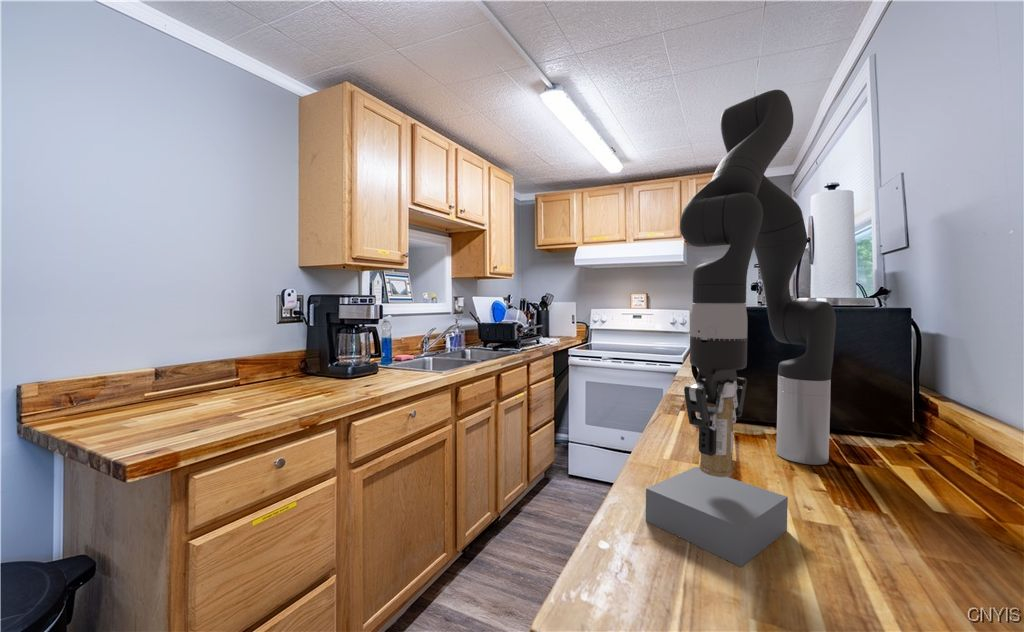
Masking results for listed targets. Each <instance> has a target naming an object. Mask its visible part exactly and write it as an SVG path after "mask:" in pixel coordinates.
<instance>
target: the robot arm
mask: <svg viewBox="0 0 1024 632" xmlns="http://www.w3.org/2000/svg"><path fill="white" fill-rule="evenodd" d="M719 120H720V121H719V122H720V123H719V124H720V125H719V126H720V132H721V137H722V141H723V144H724V147H725V151H726V154H725V156H724V157H723V158H722V159H721V160H720V162H718V164H717V167H716V169H715V171H714V173H713V175H712V177H711V179H710V181H709V182H707V183H706V184H705V185H704V186H703V187H702V188H701V189H699V190H698V191H697V193H695V194H694V195H693V196H692V197H691V198H690V199H689V200H688V202H687V204H686V205H685V206H684V209H683V212H682V213H681V217H680V221H679V225H680V226H679V228H680V229H679V230H680V234H681V236H682V238H683V239H684V241H685V242H686V243H687V244H688V245H691V247H695V248H696V247H697V248H705V247H716V246H719V247H720V246H729V247H728V249H727V250H726V253H725V254H724V255H723V256H722V257H720V258H717V259H715V260H711V261H707V262H704V263H700V264H698V265H697V266H695V267H694V270H693V274H692V306H691V307H692V308H691V313H690V321H689V323H690V324H689V326H690V328H689V330H690V331H689V363H690V365H691V366H693V367H696V368H697V376H696V379H695V384H693V385H685V386H684V387H683V388H684V389H683V392H684V393H683V394H684V399H685V405H686V410H687V411H686V412H687V417H688V423H689V425H691V426H692V425H693V426H695V427H697V428H698V451H699V453H703V454H706V455H709V456H712V455H715V454H716V430H715V429H716V425H717V419H718V415H720V414H721V413H722V411H723V405H724V397H723V395H724V394H726V387H727V385H728V383H726V382H729V383H733V384H734V386H735V395H734V396H733V397H734V398H733V424H736V421H737V417H738V418H742V417H741V416H742V414H743V410H744V404H745V397H746V391H747V384H748V380H747V377H739V376H738V375H737V371H739V370H740V371H741V370H743V369H746V368H747V364H748V328H749V327H748V325H749V324H748V323H749V322H748V313H747V311H748V310H747V281H748V280H747V278H748V271H749V266H750V261H751V258H752V253H753V250H754V252H755V257H756V260H757V263H758V267H759V272H760V275H761V279H762V283H763V289H764V298H765V304H766V309H767V310H766V311H767V316H768V322H769V328H770V330H771V333H772V335H773V338H775V340H776V341H777V342H779V343H783V344H789V345H790V344H791V345H800V346H804V345H805V346H806V350H805V353H804V354H802V355H801V356H798V357H796V358H793V359H792V358H791V359H787V360H781V361H780V362H779V363H778V367H777V407H776V408H777V409H776V451H775V453H776V455H777V456H779V457H781V458H783V459H784V460H787V461H790V462H795V463H798V464H803V465H804V464H805V465H810V466H811V465H814V466H819V465H821V466H822V465H826V464H828V463H829V459H830V458H829V455H830V454H829V453H830V427H831V426H830V424H831V423H830V421H831V419H830V418H831V383H832V382H831V381H832V380H831V378H832V369H833V365H834V364H833V363H834V352H835V351H834V349H835V341H836V338H835V337H836V329H837V328H836V327H837V316H836V312H835V309H834V307H833V304H831V303H830V302H827V301H821V300H819V301H818V300H817V301H816V300H813V301H811V300H808V301H807V300H804V301H803V300H802V301H801V300H800V301H799V300H797V301H796V300H795V301H794V300H793V299H792V297H791V291H790V282H791V278H792V276H793V274H794V272H795V269H796V268H797V266H798V264H799V263H800V260H801V258H802V257H803V254H804V253H805V251H806V246H807V243H808V235H807V229H806V225H805V219H804V215H803V212H802V209H801V206H799V204H798V203H797V202H796V201H795V200H794V199H793V197H791V196H790V195H789V194H787V193H786V192H785V191H784V190H782V188H780V187H778V185H776V184H775V183H773V182H772V181H771V180H770V179H769V178H768V177H767V176H766V175H765V173H766V171H767V169H768V167H769V166H770V164H771V163H772V162H773V160H774V158H775V157H776V155H778V154H779V152H780V150H781V149H782V147H783V146H784V144H785V143H786V142H787V140H788V139H789V137H790V135H791V133H792V131H793V127H794V120H795V119H794V111H793V105H792V103H791V99H790V97H789V95H788V94H787V93H786V92H785V91H784V90H782V89H772V90H768V91H765V92H762V93H761V94H757V95H755V96H753V97H750V98H748V99H746V100H743V101H741V102H738V103H736V104H734V105H731V106H729V107H727V108H725V109H724V110H723V111H722V113H721V115H720V119H719ZM717 389H718V393H717ZM707 403H710V404H716V405H715V406H714V407H709V406H707ZM708 412H710V413H711V416H710V420H709V413H708ZM696 413H697V414H696Z"/></svg>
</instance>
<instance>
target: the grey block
mask: <svg viewBox="0 0 1024 632" xmlns="http://www.w3.org/2000/svg"><path fill="white" fill-rule="evenodd" d="M788 501H789V498H788V496H786V495H783V494H780V493H778V492H774V491H771V490H769V489H765V488H762V487H758V486H756V485H752V484H750V483H747V482H743V481H740V480H737V479H735V478H732V477H730V476H729V477H716V476H711V475H708V474H705V473H704V472H702V471H701V470H700V468H699V467H698V466H694V467H692V468H689V469H687V470H686V471H682V472H681V473H678V474H676V475H674V476H672V477H669V478H667V479H664V480H662V481H660V482H658V483H655V484H653V485H651V486H648V487H646V488H645V522H647V523H649V524H651V525H653V526H655V527H657V528H660V529H661V530H663V531H665V530H666V532H667V531H668V532H667V533H670V534H672V533H673V534H672V535H674V534H675V535H674V536H676V535H677V536H676V537H678V536H680V537H681V538H680V537H679V538H680V539H682V538H683V539H682V540H684V539H685V540H684V541H686V542H688V541H689V542H688V543H690V542H691V544H693V545H694V546H697V548H698V547H699V548H701V549H702V550H705V551H707V552H709V553H711V554H713V555H715V556H717V557H719V558H721V559H724V560H725V561H727V560H728V562H729V561H730V562H729V563H731V562H733V563H734V565H735V566H737V567H739V568H742V567H744V565H746V564H747V563H749V561H751V560H752V559H754V557H756V556H757V555H758V554H760V553H761V552H762V551H764V549H766V548H767V547H768V546H770V545H771V544H772V543H774V542H775V541H776V540H777V539H778V538H780V537H781V536H783V535H784V534H785V533H786V532H787V531H788V507H789V506H788V505H789V502H788ZM733 563H732V564H733Z"/></svg>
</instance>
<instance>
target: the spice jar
mask: <svg viewBox="0 0 1024 632" xmlns="http://www.w3.org/2000/svg"><path fill="white" fill-rule="evenodd" d="M726 383H728V385H727V387H726V394H724V395H723V397H724V405H723V411H722V413H721V414H720V415H718V419H717V425H716V429H715V430H716V454H715V455H712V456H709V455H706V454H703V453H700V452H699V453H700V454H699V455H700V460H699V461H700V463H699V467H698V468H700V470H701V471H702V472H704V473H705V474H708V475H711V476H716V477H729V478H730V477H731V476H732V475H733V473H734V469H733V453H734V452H733V451H734V423H733V398H734V397H733V396H734V395H735V386H734V384H733V383H729V382H726ZM717 393H718V389H717ZM715 405H716V404H710V403H707V406H709V407H714V406H715ZM708 413H709V420H710V416H711V413H710V412H708Z"/></svg>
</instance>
